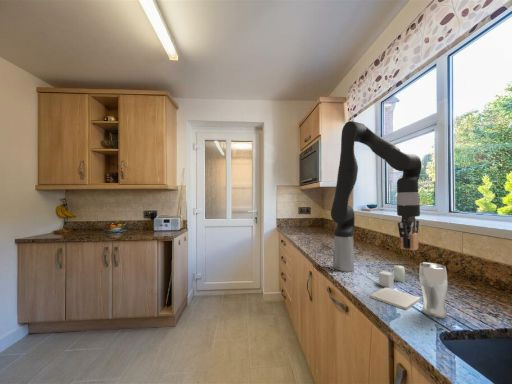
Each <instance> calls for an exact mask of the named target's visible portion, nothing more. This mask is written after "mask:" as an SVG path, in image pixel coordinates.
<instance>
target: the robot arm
mask: <svg viewBox="0 0 512 384" xmlns="http://www.w3.org/2000/svg"><path fill="white" fill-rule="evenodd" d="M341 129H342V130H341V137H340V139H341V140H340V141H341V143H340V146H341V147H340V155H339V156H340V157H339V164H338V165H339V166H338V169H337V170H338V171H337V178H336V185H335V192H334V198H333V202H332V207H331V210H330V216H331V217H330V218H331V219H332V221H333V222H334V223H336V224H337V225H336V228H335V229H334V230H333V238H334V239H333V241H334V249H332V264H333V268H334V269H335V270H337V271H339V270H340V272H344V273H345V272H347V273H349V272H353V271H355V257H354V256H355V255H354V254H355V253H354V252H355V251H354V232H355V211H354V209H353V207H352V206H351V205H349V198H350V195H351V194H352V191H353V189H354V187H355V184H356V182H357V179H358V171H359V164H358V161H357V158H356V156H355V151H354V150H355V149H354V146H355V143H356V142H357V143H361V144H363V145H366V146H367V147H368V148H369V149H370V150H371V151H372V153H374V154H375V155H376V156H378V157H380V158H381V159H382V160H384V161H386V163H387V164H388V165H389V166H390V167H391V168H392V169H394V170H396V171H398V172H402V177H401V178H400V177H399V178H398V179H397V181H396V192H397V193H396V214H397V216H399V217H401V221H400V222H397V227H398V234H399V238H401V237H402V238H403V247H404V248H407V249H410V234H411V233H418V234H419V226H420V225H419V224H420V221H419V220H418V219H417V220H416V218H417V217H420V216H421V205H420V203H421V202H420V193H419V179H420V175H421V172H422V165H423V164H422V160H421V158H420V157H419V155H417V154H415V153H414V154H413V153H406V152H402V151H401V149H400V148H399V147H398V145H396V144H393V143H392V142H391V141H388V140H386V139H385V138H383V137H381V136H379V135H377V134H376V133H374V132H373V131H372V130H371V129H370V128H369V127H368V126H366V125H365V124H364V123H361V122H358V121H353V120H349V121H347V122H345V123H344V125H343V127H342V128H341ZM407 249H406V250H407Z"/></svg>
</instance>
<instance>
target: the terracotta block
mask: <svg viewBox="0 0 512 384" xmlns="http://www.w3.org/2000/svg"><path fill="white" fill-rule="evenodd" d="M400 249H402V250H408V251H416V250H419V232H418V233H411V234H410V249H407V248H404V247H403V238H402V237H400Z"/></svg>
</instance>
